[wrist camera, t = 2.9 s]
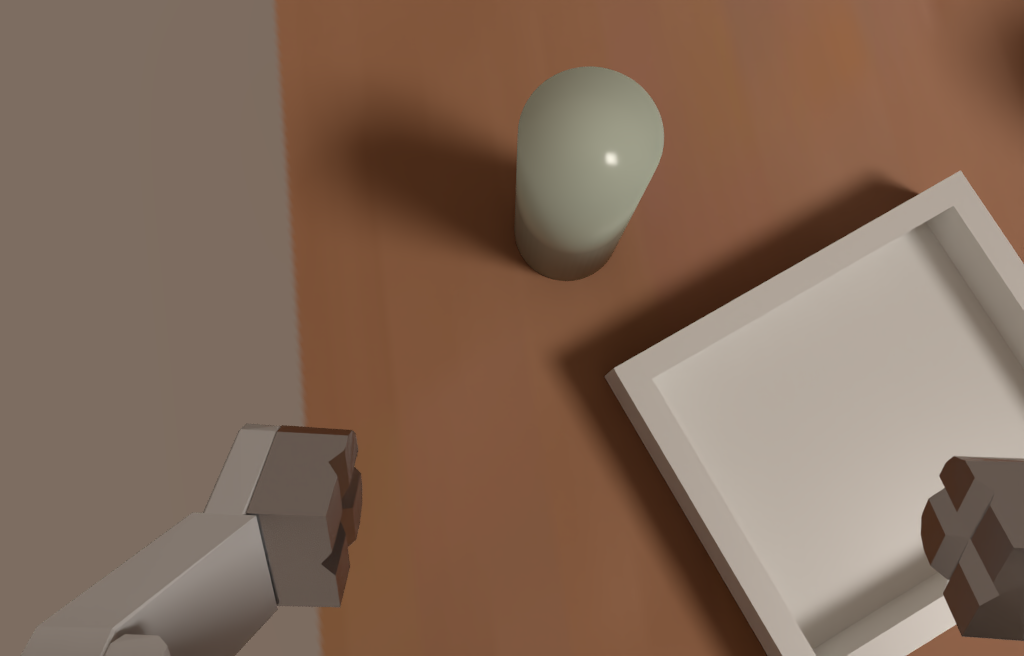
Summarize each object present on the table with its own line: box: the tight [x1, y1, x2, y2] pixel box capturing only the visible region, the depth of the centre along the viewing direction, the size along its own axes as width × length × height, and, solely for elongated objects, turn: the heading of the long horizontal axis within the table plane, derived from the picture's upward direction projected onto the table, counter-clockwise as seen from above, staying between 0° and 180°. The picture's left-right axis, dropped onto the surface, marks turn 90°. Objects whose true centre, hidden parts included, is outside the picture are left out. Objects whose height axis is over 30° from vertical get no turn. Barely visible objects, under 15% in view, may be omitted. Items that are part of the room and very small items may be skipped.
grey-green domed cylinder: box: [514, 67, 664, 281], centre depth 35 cm, size 5×5×12 cm
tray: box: [604, 171, 1024, 656], centre depth 37 cm, size 18×16×4 cm
